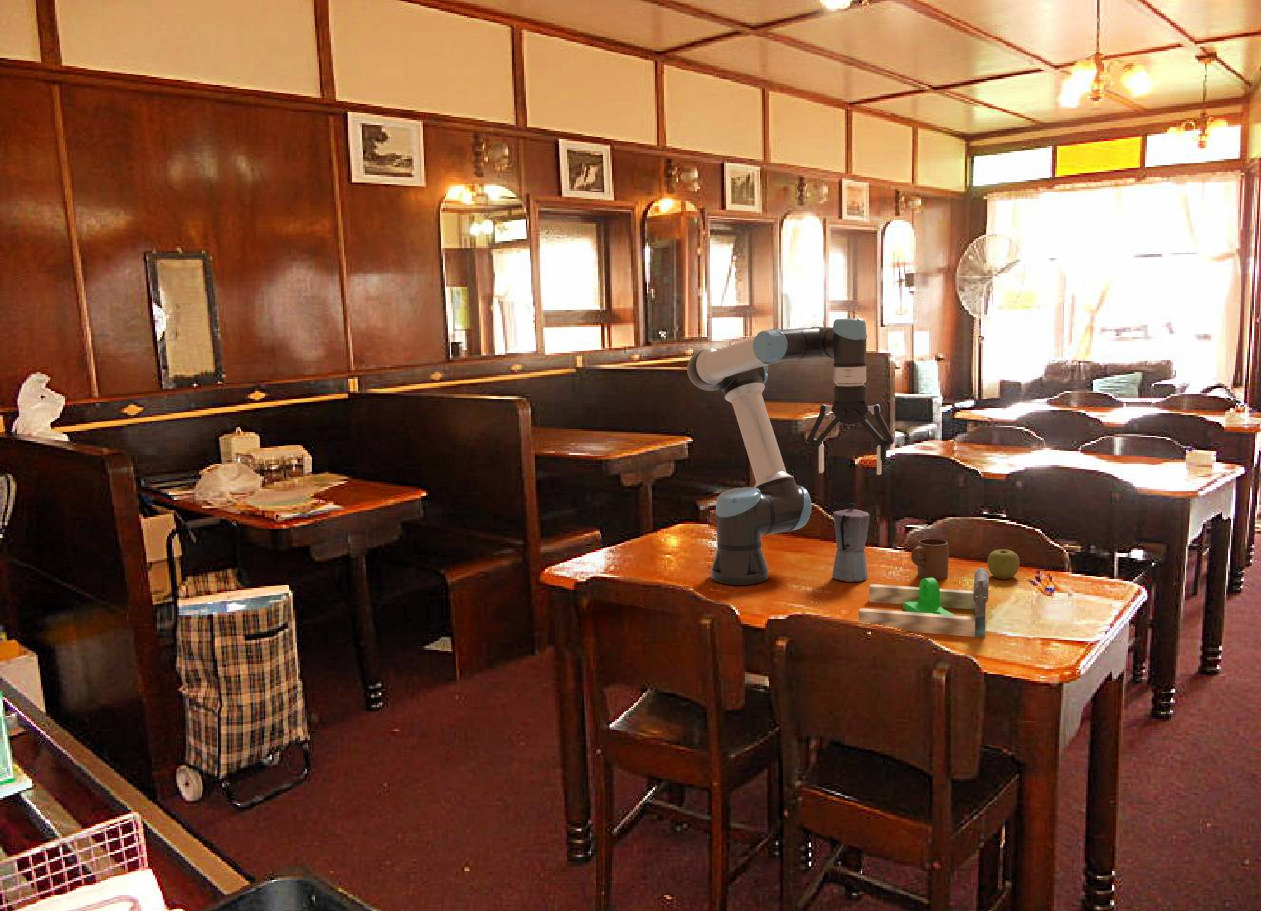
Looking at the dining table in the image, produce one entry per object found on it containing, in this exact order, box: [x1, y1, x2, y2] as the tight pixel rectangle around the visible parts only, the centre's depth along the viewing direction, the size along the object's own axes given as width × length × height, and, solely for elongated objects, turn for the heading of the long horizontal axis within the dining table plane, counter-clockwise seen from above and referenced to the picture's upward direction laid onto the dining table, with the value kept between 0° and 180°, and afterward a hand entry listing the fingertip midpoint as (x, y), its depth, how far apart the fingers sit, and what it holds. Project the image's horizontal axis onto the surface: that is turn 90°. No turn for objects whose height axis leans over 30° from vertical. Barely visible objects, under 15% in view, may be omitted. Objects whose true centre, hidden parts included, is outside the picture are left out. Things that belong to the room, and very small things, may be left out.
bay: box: [858, 567, 990, 638], centre depth 209 cm, size 26×22×13 cm
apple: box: [986, 548, 1021, 580], centre depth 238 cm, size 8×8×7 cm
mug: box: [910, 538, 950, 581], centre depth 240 cm, size 12×8×9 cm, turn 125°
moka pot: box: [832, 502, 871, 583], centre depth 241 cm, size 10×15×20 cm, turn 155°
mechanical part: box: [903, 578, 955, 615], centre depth 211 cm, size 12×6×8 cm, turn 12°
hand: (849, 473), depth 223 cm, fingers open, 13 cm apart
